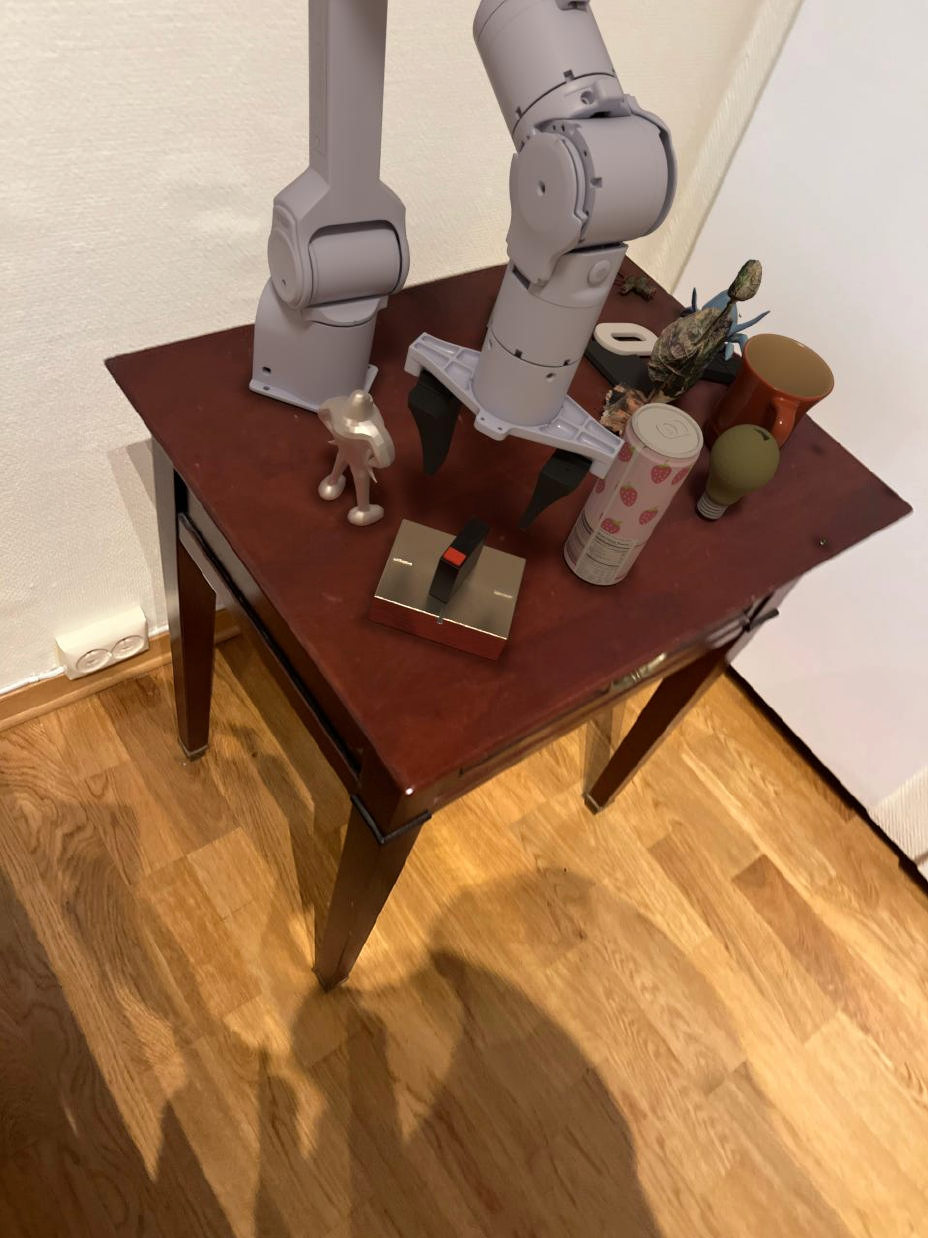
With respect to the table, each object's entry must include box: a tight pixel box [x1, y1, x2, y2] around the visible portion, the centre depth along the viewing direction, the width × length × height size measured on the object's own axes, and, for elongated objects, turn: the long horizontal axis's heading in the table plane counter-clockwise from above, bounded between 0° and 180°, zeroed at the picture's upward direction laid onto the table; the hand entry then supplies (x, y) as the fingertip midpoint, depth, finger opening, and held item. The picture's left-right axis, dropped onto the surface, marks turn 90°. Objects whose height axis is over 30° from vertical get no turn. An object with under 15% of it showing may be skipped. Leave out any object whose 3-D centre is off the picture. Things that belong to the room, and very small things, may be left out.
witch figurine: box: [614, 269, 657, 299], centre depth 99 cm, size 5×12×2 cm, turn 49°
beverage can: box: [563, 403, 704, 586], centre depth 67 cm, size 6×6×15 cm
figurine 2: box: [676, 286, 772, 385], centre depth 92 cm, size 10×12×8 cm
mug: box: [704, 333, 835, 453], centre depth 81 cm, size 12×9×10 cm
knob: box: [429, 516, 492, 603], centre depth 63 cm, size 5×2×4 cm, turn 152°
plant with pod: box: [598, 258, 763, 436], centre depth 77 cm, size 8×11×20 cm
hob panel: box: [368, 518, 527, 662], centre depth 66 cm, size 10×9×3 cm
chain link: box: [593, 322, 659, 357], centre depth 91 cm, size 8×1×5 cm
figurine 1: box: [317, 390, 396, 527], centre depth 65 cm, size 7×4×12 cm, turn 49°
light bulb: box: [696, 424, 780, 520], centre depth 76 cm, size 6×6×10 cm
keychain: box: [583, 337, 675, 405], centre depth 88 cm, size 5×1×10 cm
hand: (480, 494), depth 61 cm, fingers open, 7 cm apart
